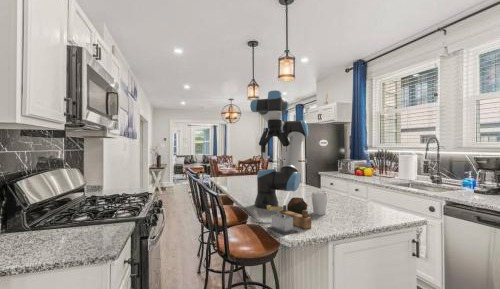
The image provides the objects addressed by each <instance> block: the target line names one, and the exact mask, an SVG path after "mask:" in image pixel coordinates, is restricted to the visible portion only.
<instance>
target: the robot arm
mask: <svg viewBox="0 0 500 289" xmlns="http://www.w3.org/2000/svg"><path fill="white" fill-rule="evenodd" d="M282 93H283V92H282V91H281V90H275V89H274V90H270V91H268V93H267V98H260V99H259V98H256V99H252V100H251V101H250V105H249V106H250V111H251V112H252V113H258V114H259V115H260V116H261V117H262V118H263V120H265V121H266V122H267V126H268V127H264V128H263V131H262V135H261V137H260V138H259V139H260V140H259V142H258V146H260V147H261V153H262V159H264V160H268V146H267V145H268V144H269V142H270V141H271V139H272V138H273V137H275V138H276V137H277V139H278V141H280V143H281V145H282V146H281V158H282V159H284V163H283V166H281V167H280V169H279V171H277V170H276V169H275V168H269V169H261V170H258V171H257V176H256V177H257V178H256V179H257V180H256V181H257V183H256V184H257V188H256V189H257V191H256V192H257V193H256V197H255V200H254V207H256V208H260V209H261V208H262V209H267V205H270V206H279V201H278V196H277V194H276V191H284V192H296V191H297V190H298V189H299V187H300V184H301V174H300V172H299V170H298V166H299V165H298V164H299V159H300V155H301V148H302V142H304V141H305V139H306V138H308V137H309V126H308V122H307V121H306V120H283V119H282V118H283V117H282V112H286V111H287V110H288V109H289V107H290V106H289V105H290V104H289V101H288V99H286V98H284V97H283V96H282Z"/></svg>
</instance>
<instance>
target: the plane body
mask: <svg viewBox="0 0 500 289" xmlns="http://www.w3.org/2000/svg"><path fill="white" fill-rule="evenodd" d="M282 207H283V210H278V213H281V214H284V215H287V216H290V217H293V227H297V228H299V229H302V230H310V229H312V217H311V216H309V214H308V213H309V211H308V209H307V210H303V211H302V215H301V214H298V213H294V212H291V211H288V210H287V205H286V204H285V205H282Z"/></svg>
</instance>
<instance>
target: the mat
mask: <svg viewBox="0 0 500 289" xmlns="http://www.w3.org/2000/svg"><path fill="white" fill-rule="evenodd" d="M266 228H267V230H271V231H273V232H274V233H275V232H276V233H278V234H280V235H283V236H288V235H291V234H295V233H298V230H296V229H294V228H293V231H290V232H286V233H284V232H281V231H279V230H276V229H274V228H272V225H271V226H268V227H266Z"/></svg>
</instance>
